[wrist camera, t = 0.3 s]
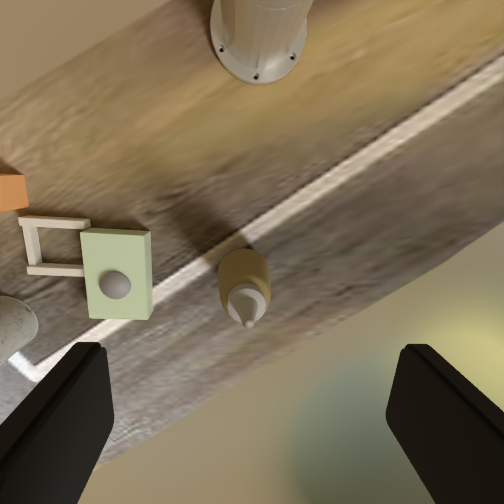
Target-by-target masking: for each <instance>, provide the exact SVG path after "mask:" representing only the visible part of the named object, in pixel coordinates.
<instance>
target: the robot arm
mask: <svg viewBox="0 0 504 504" xmlns="http://www.w3.org/2000/svg"><path fill="white" fill-rule="evenodd" d="M313 1H314V0H214V3H213V7H212V10H211V19H210V29H211V38H212V43H213V46H214V49H215V52H216V54H217V56H218V58H219V60H220V62H221V63H222V65H223V66H224V67H225V69H226V70H227V71H228V72H229V73H230V74H231V75H232V76H234V77H235V78H237V79H239V80H240V81H243V82H245V83H248V84H253V85H266V84H270V83H273V82H276V81H278V80H279V79H281V78H283V77H284V76H285V75H286V74H288V73H289V72H290V71H291V69H292V68H293V67H294V66H295V64H296V63H297V61H298V60H299V58H300V55H301V53H302V51H303V49H304V45H305V41H306V36H307V14H308V12H309V9H310V7H311V5H312V3H313ZM221 49H222V50H223V52H220V50H221ZM291 57H293V59H294V60H291V59H290V58H291ZM255 76H256V77H257V80H255V79H254V77H255ZM386 421H387V423H388V425H389V427H390V429H391V431H392V432H393V434H394V436H395V437H396V439H397V441H398V442H399V444H400V445H401V447H402V449H403V450H404V452H405V454H406V455H407V457H408V459H409V460H410V462H411V464H412V465H413V467H414V468H415V470H416V471H417V474H418V475H419V477H420V479H421V480H422V482H423V483H424V485H425V487H426V488H427V490H428V492H429V493H430V495H431V497H432V498H433V500H434V502H435V503H436V504H504V412H503V411H502V410H501V409H500V408H499V407H498V406H497V405H495V404H494V403H493V402H492V401H491V400H490V399H489V398H487V397H486V396H485V395H484V394H483V393H482V392H481V391H479V389H478V388H476V387H475V386H474V385H473V384H472V383H471V382H470V381H469V380H467V379H466V378H465V377H464V376H463V375H462V374H461V373H460V372H459V371H457V370H456V369H455V368H454V367H453V366H452V365H450V363H448V362H447V361H446V360H445V359H444V358H443V357H442V356H441V355H440V354H438V353H437V352H436V351H435V350H434V349H433V348H432V347H431V346H429V345H427V344H407V345H406V347H405V348H404V349H402V350H401V352H400V356H399V360H398V364H397V368H396V373H395V376H394V380H393V385H392V389H391V393H390V397H389V401H388V405H387V409H386ZM113 423H114V410H113V402H112V394H111V385H110V377H109V368H108V360H107V351H106V348H104V347H101V345H100V343H98V342H77V343H75V344H74V345H73V346H72V347H71V349H70V350H69V351H68V352H67V353H66V354H65V355H64V356H63V357H62V358H61V359H60V361H59V362H58V363H57V364H56V365H55V366H54V367H53V368H52V369H51V370H50V371H49V373H48V374H47V375H46V376H45V377H44V378H43V379H42V380H41V381H40V382H39V383H38V385H37V386H36V387H35V388H34V389H33V390H32V391H31V392H30V393H29V394H28V396H27V397H26V398H25V399H24V400H23V401H22V402H21V403H20V404H19V405H18V406H17V408H16V409H15V410H14V411H13V412H12V413H11V414H10V415H9V416H8V417H7V418H6V420H5V421H4V422H3V423H2V424H1V425H0V504H77V503H78V501H79V499H80V496H81V494H82V492H83V490H84V488H85V486H86V484H87V482H88V479H89V477H90V475H91V473H92V471H93V469H94V467H95V465H96V462H97V460H98V458H99V456H100V454H101V452H102V450H103V448H104V445H105V443H106V441H107V439H108V437H109V435H110V433H111V430H112V427H113Z"/></svg>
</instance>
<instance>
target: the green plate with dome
mask: <svg viewBox="0 0 504 504" xmlns="http://www.w3.org/2000/svg"><path fill="white" fill-rule="evenodd" d="M18 220H19V226H22V228H23V233H24V239H25V245H26V251H27V256H28V262H29V266H28V267H27V271H28V274H34V275H58V276H82V277H85V282H86V291H87V300H88V309H89V318H101V319H135V320H148V318H149V317H150V315H151V313H152V311H153V291H152V263H151V235H150V231H140V230H122V229H104V228H89V229H87V230H84V231H82V232H80V238H81V247H82V256H83V264H84V265H78V264H56V263H42V256H41V250H40V244H39V237H38V231H37V227H52V228H70V229H86V228H88V227H91V223H90V219H84V218H67V217H49V216H32V215H27V216H23V217H18Z"/></svg>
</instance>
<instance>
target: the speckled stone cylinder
mask: <svg viewBox="0 0 504 504" xmlns="http://www.w3.org/2000/svg"><path fill="white" fill-rule="evenodd" d="M37 331H38V319H37V316H36V315H35V313H34V311H33V310H32V309H31V308H30V307H29V306H28V305H27V304H26V303H24V302H23V301H21V300H19V299H17V298H14V297H10V296H0V365H1V364H3V363H4V362H5V361H6V360H7V359H8V358H10V357H11V356H12V355H13V354H14V353H16V352H17V351H18V350H19V349H20V348H22V347H23V346H24V345H25V344H26V343H27V342H29V341H31V340H32V339H33V338H34V337H35V335H36V334H37Z"/></svg>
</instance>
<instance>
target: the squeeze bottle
mask: <svg viewBox="0 0 504 504" xmlns="http://www.w3.org/2000/svg"><path fill="white" fill-rule="evenodd" d="M218 283H219V291H220V299H221V302H222V305H223V307H224V308H225V310H226V311H227V312H228V313H229V314H230V316H231V317H232V318H233V319H234V320H236V321H238V322H240V323H242V324H243V326H244V327H246V328H251V327H252V326H253V325H254V322H255V321H256V320H258V319H259V318H261V317H262V315H263V314H264V312H265V309H266V308H267V306H268V305H269V303H270V298H271V285H270V272H269V267H268V263H267V261H266V260H265V259H264V257H263V256H262V255H261V254H259V253H258V252H256V251H254V250H252V249H244V248H241V249H237V250H233V251H231V252H230V253H228V254H227V255H226V256H224V257H223V259H222V261H221V262H220V264H219V268H218Z"/></svg>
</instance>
